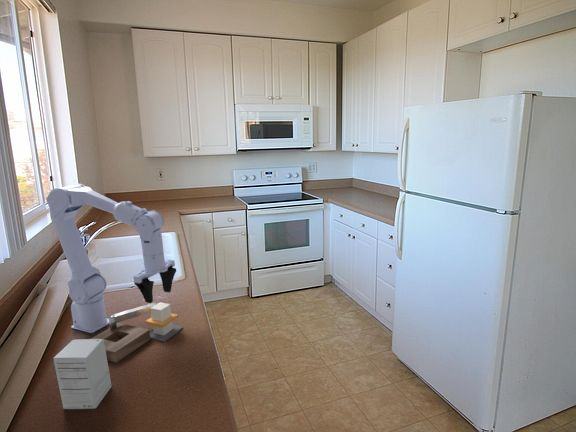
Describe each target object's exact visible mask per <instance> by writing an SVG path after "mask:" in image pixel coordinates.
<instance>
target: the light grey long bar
mask: <svg viewBox="0 0 576 432" xmlns="http://www.w3.org/2000/svg"><path fill="white" fill-rule="evenodd" d="M156 304H157V303H156V302H152V303H146V304H145V305H140V306H137V307H134V308H131V309H127V310H123V311H120V312H116V313H114V314H110V315H108V319H109V323H110V324H109V328H116V327H117V323H121V322H124V321H127V320H131V319H134V318H138V317H140V316H144V315H147V314H151V311H150V308H151V307H153V306H154V305H156Z"/></svg>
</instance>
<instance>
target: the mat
mask: <svg viewBox="0 0 576 432" xmlns="http://www.w3.org/2000/svg"><path fill="white" fill-rule="evenodd" d="M183 329H184V326H180V325H177V324H173V329H172V330H171V331H169V332H168V333H167V334H165V335H159V334H155V333H153V328H152V329H149V333H150V340H151V339H152V340H155V341H159V342H164V343H165V342H167V341H168V340H169V339H170V338H172V337H174V336H175V335H176V334H177V333H179V332H180V331H181V330H183Z"/></svg>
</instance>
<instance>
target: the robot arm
mask: <svg viewBox="0 0 576 432" xmlns="http://www.w3.org/2000/svg"><path fill="white" fill-rule="evenodd" d="M45 200H46V202H47V205H48V207H49V211H50V212H49V216H50V220H51V222H52V225H53V227H54V230H55V232H56V235H57V238H58V240H59V243H60V245H61V248H62V251H63V253H64V256H65V258H66V261H67V264H68V266H69V268H70V271H71V272H70V273H71V275H70V277H69V278H68V281H67V285H68V294H69V295H68V296H69V299H71V300H72V303H71V306H70V311H71V317H72V323H73V325H71V327H70V328H71V329H75V330H78V331H82V332H86V333H89V334H94V333H95V332H97V331H100V330H101V329H102V328H104V327H106V326H108V325H110V323H109V318H107V313H106V306H105V301H104V294H105V293H104V292H105V290H106V288H107V286H108V284H107V280H106V278H105V277H104V275H102V273H101V271H100V269H99V268H97V267H95V266H92V263H91V260H90V258H89V255H88V253H87V249H86V247H85V245H84V241H83V240H82V236H81V235H80V231H79V229H78V226H77V224H76V221H75V216H76V215H77V214H78V212H79V210H80V209H81V208H83V206H85V205H87V206H90V207H93V208H96V209H99V210H101V211H105V212H108V213H110V214H112V216H113V217H114V219H115V220H116V221H119V222H121V223H123V224H125V225H127V226H130V227H133V228H134V229H135V231H136V232H137V233H138V235H139V238H140V242H141V250H142V257H143V259H142V260H143V266H144V268H143V269H141V270H140V271H139V272H138V273H137V274H135V275H133V276H132V277H133V283H134V285H135V286H136V287H137V289H138V290H139V292H140V293H141V294H142V297H143V299H144V302H145V303H146V304H150V303H154V301H153V300H154V295H153V287H154V283H155V281H153V280H150V279H149V278H151V277H153V276H155V275H157V274H159V275H160V279H161V283H162V290H163V292H165V293H171V292H172V286H173V285H172V284H173V281H174V277H175V275H176V273H177V268H176V267H175V266H176V264H175V260H174V259H168V260H165V251H164V244H163V236H162V228H163V226H164V223H165V220H164V217H163V215H162V214H161V213H160V212H158V211H157V210H153V209H152V210H150V211H148V209H147V208H145V207H142V208H141V207H139V206H137V205H135V204H133V202H132V201H130V200H128V201H126V200H125V201H120V202H117V201H115V200H114V199H111V198H109V197H107V196H105V195H103V194H101V193H98V192H97V191H95V190H93V189H92V188H91V187H90V186H87V185H84V184H82V183H76V184H73V185H68V186H67V185H66V186H63V187H55V188H52V189H51V190H50V192H48V195H47V196H46V198H45Z"/></svg>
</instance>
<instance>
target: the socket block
mask: <svg viewBox="0 0 576 432" xmlns="http://www.w3.org/2000/svg"><path fill="white" fill-rule="evenodd" d="M149 331H150V329H148V328H145V327H139V326H135V325H130V324H127V323H121V322H118V323H117V327H116V328H110V327H108V328H106V329H105V330H103V331H102V332H100V333H98V334H97V335H95V336H93V337H92V338H91V337H90V339H104V344H105V350H106V356H107V361H109V362H112V363H119V362H120V361H121V360H123V358H125V357H127V356H128V355H130V354H131V353H133V352H134V351H136V350H137V349H138V348H140V347H142V346H143V345H144V344H145V343H147V342H149V341H150V340H151V339H150V333H149Z"/></svg>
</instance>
